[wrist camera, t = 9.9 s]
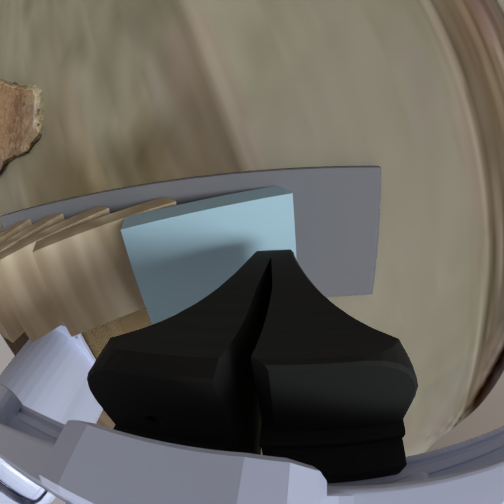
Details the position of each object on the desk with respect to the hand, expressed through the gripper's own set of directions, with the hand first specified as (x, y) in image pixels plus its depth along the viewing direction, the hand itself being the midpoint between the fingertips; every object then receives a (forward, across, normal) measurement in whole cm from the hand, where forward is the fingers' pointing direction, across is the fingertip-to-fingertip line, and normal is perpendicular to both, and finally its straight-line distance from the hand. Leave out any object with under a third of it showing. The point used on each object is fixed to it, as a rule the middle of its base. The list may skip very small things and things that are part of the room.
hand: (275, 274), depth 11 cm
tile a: (+3, +5, 0) cm, 6 cm away
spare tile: (+3, 0, 0) cm, 3 cm away
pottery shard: (+5, +20, -11) cm, 24 cm away
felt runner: (+4, +8, 0) cm, 9 cm away
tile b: (+4, +9, 0) cm, 10 cm away
